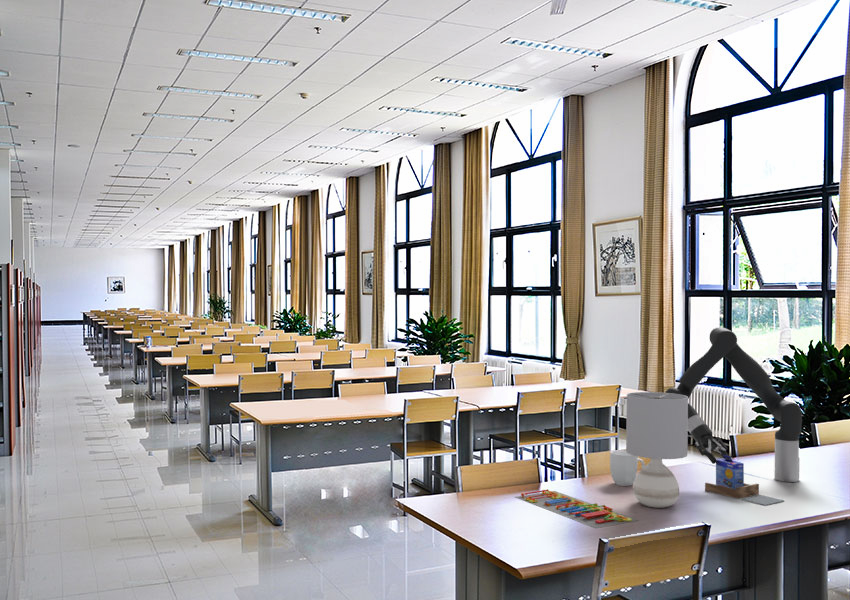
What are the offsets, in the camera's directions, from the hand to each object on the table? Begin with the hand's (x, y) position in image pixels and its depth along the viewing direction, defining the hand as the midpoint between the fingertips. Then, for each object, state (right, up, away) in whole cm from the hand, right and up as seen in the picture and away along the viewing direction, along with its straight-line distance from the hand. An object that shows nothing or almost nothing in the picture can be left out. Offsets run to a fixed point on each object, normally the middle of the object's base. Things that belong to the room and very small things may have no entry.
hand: (722, 461), depth 306 cm
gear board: (-65, -11, -29) cm, 72 cm away
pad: (+9, -11, -16) cm, 22 cm away
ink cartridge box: (+2, -12, -3) cm, 12 cm away
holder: (+2, -11, -3) cm, 12 cm away
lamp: (-34, -11, -24) cm, 43 cm away
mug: (-36, -11, +8) cm, 39 cm away
